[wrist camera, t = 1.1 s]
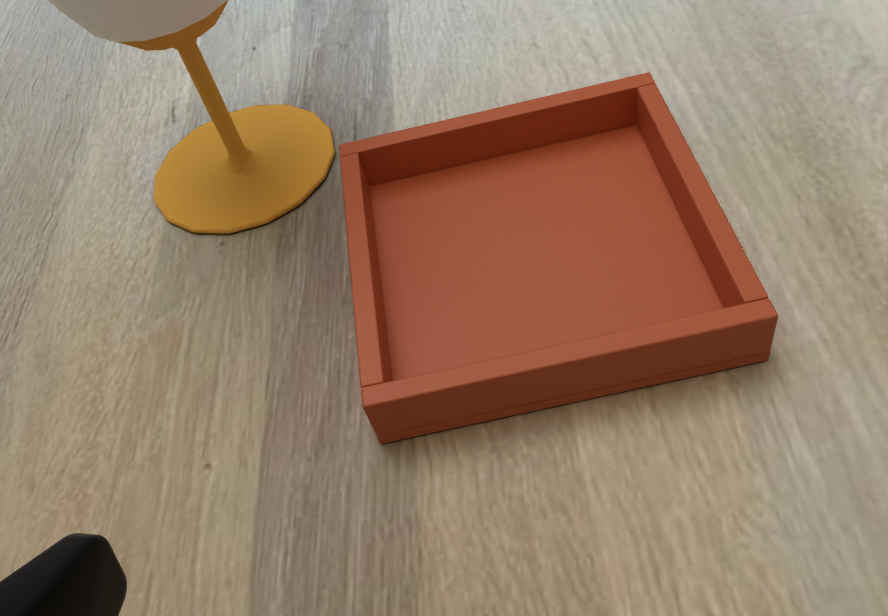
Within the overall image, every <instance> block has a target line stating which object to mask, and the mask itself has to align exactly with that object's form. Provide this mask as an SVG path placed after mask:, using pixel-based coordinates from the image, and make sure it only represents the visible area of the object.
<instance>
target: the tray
mask: <svg viewBox="0 0 888 616" xmlns="http://www.w3.org/2000/svg"><path fill="white" fill-rule="evenodd" d="M339 150H340V160H341V171H342V183H343V194H344V205H345V216H346V228H347V239H348V250H349V261H350V273H351V284H352V295H353V307H354V318H355V329H356V340H357V352H358V363H359V374H360V385H361V388H362V389H361V395H362V406H363V408H364V410H365V413H366V415H367V417H368V419H369V421H370V423H371V425H372V427H373V429H374V431H375V433H376V435H377V438H378V440H379V442H380V444H383V443H387V442H392V441H397V440H401V439H406V438H411V437H415V436H420V435H424V434H429V433H434V432H438V431H443V430H448V429H452V428H457V427H461V426H466V425H471V424H475V423H480V422H485V421H489V420H494V419H499V418H503V417H508V416H512V415H517V414H522V413H526V412H531V411H536V410H540V409H545V408H549V407H554V406H559V405H563V404H568V403H573V402H577V401H582V400H586V399H591V398H596V397H600V396H605V395H610V394H614V393H619V392H623V391H628V390H633V389H637V388H642V387H647V386H651V385H656V384H660V383H665V382H670V381H674V380H679V379H684V378H688V377H693V376H697V375H702V374H707V373H711V372H716V371H721V370H725V369H730V368H734V367H739V366H744V365H748V364H753V363H758V362H762V361H767V360H768V359H769V355H770V349H771V345H772V340H773V336H774V332H775V327H776V323H777V319H778V315H777V313H776V311H775V309H774V307H773V305H772V303H771V301H770V300H769V299H768V295H767V293H766V292H765V290H764V288H763V286H762V284H761V282H760V280H759V278H758V276H757V275H756V273H755V271H754V269H753V267H752V265H751V263H750V261H749V260H748V258H747V256H746V254H745V252H744V250H743V248H742V246H741V244H740V243H739V241H738V239H737V237H736V235H735V233H734V231H733V229H732V227H731V226H730V224H729V222H728V220H727V218H726V216H725V214H724V212H723V210H722V209H721V207H720V205H719V203H718V201H717V199H716V197H715V195H714V193H713V192H712V190H711V188H710V186H709V184H708V182H707V180H706V178H705V177H704V175H703V173H702V171H701V169H700V167H699V165H698V163H697V161H696V160H695V158H694V156H693V154H692V152H691V150H690V148H689V146H688V144H687V143H686V141H685V139H684V137H683V135H682V133H681V131H680V129H679V127H678V126H677V124H676V122H675V120H674V118H673V116H672V114H671V112H670V111H669V109H668V107H667V105H666V103H665V101H664V99H663V97H662V95H661V94H660V92H659V90H658V88H657V86H656V84H655V82H654V80H653V78H652V76H651V74H650V73H649V72H648V73H644V74H640V75H636V76H631V77H627V78H623V79H619V80H614V81H610V82H606V83H601V84H597V85H593V86H589V87H584V88H580V89H576V90H572V91H567V92H563V93H559V94H554V95H550V96H546V97H542V98H537V99H533V100H529V101H524V102H520V103H516V104H512V105H507V106H503V107H499V108H495V109H490V110H486V111H482V112H477V113H473V114H469V115H465V116H460V117H456V118H452V119H448V120H443V121H439V122H435V123H430V124H426V125H422V126H418V127H413V128H409V129H405V130H400V131H396V132H392V133H388V134H383V135H379V136H375V137H371V138H366V139H362V140H358V141H353V142H349V143H345V144H341V145H339Z"/></svg>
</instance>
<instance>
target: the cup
mask: <svg viewBox="0 0 888 616" xmlns="http://www.w3.org/2000/svg"><path fill="white" fill-rule="evenodd" d="M50 2H51V3H52V4H53V5H54V6H55V7H56V8H57V9H58V10H59V11H61V12H62V13H64V14H65V15H67V16H68V17H69V18H71V19H72V20H74V21H75V22H76V23H78V24H79V25H81V26H82V27H83V28H85V29H86V30H88V31H89V32H90V33H92V34H93V35H95V36H97V37H100V38H103V39H107V40H110V41H113V42H119V43H122V44H126V45H129V46H133V47H137V48H140V49H144V50H165V49H169V48H175V49H177V50H178V52H179V54H180V56H181V58H182V60H183V62H184V64H185V66H186V68H187V70H188V72H189V74H190V76H191V78H192V80H193V82H194V84H195V86H196V88H197V90H198V92H199V94H200V96H201V98H202V101H203V103H204V105H205V107H206V109H207V111H208V113H209V115H210V117H211V119H212V120H211V121H210V122H208V123H206V124H204V125H202V126H200V127H198V128H196V129H194V130H193V131H192V132H191V133H190V134H188V135H187V136H186V137H185V138H184V139H183V140H182V141H181V142H179V143H178V144H177V145H176V146H175V147H174V148H173V149H172V150H170V151H169V153H168V155H167V157H166V158H165V160H164V162H163V163H162V165H161V167H160V169H159V170H158V172H157V174H156V176H155V185H154V201H155V203H156V204H157V206H158V207H159V209H160V211H161V212H162V214H163V215H164V217H165V218H166V220H167V221H168V222H170V223H172V224H175V225H177V226H179V227H181V228H184V229H186V230H188V231H191V232H193V233H222V234H230V233H234V232H237V231H241V230H245V229H249V228H252V227H256V226H260V225H263V224H267V223H269V222H271V221H272V220H274V219H276V218H278V217H279V216H281V215H283V214H285V213H286V212H288V211H290V210H292V209H293V208H295V207H297V206H298V205H300V204H301V203H302V202H303V201H304V200H305V199H306V198H307V197H308V196H309V195H310V194H311V193H312V192H313V191H314V190H315V189H316V188H317V187H318V186H319V185H320V184H321V183H322V181H323V180H324V179H325V177H326V175H327V172H328V170H329V167H330V165H331V162H332V160H333V157H334V155H335V149H334V144H333V138H332V132H331V129H330V128H329V127H328V126H327V125H326V124H325V123H324V122H323V121H322V120H321V119H320V118H319V117H318V116H317V115H316V114H315V113H313V112H310V111H307V110H303V109H300V108H297V107H293V106H290V105H255V106H252V107H248V108H244V109H241V110H237V111H233V112H230V113H229V112H228V110H227V108H226V105H225V103H224V101H223V99H222V97H221V95H220V93H219V91H218V88H217V86H216V84H215V82H214V80H213V78H212V76H211V73H210V71H209V69H208V67H207V65H206V63H205V61H204V58H203V56H202V54H201V52H200V50H199V48H198V46H197V43H196V40H197V38H198V37H200V36H202V35H203V34H204V33H205V32H206V31H208V30H209V29H210V28H211V27H213V26H214V25H215V23H216V22H217V20H218V19H219V17H220V15H221V14H222V12H223V10H224V8H225V6H226V4H227V2H228V0H50Z"/></svg>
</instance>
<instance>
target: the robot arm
mask: <svg viewBox="0 0 888 616" xmlns="http://www.w3.org/2000/svg"><path fill="white" fill-rule="evenodd" d="M126 590H127V580H126V576H125V574H124V572H123V570H122V568H121V566H120V564H119V562H118V560H117V558H116V556H115V554H114V552H113V550H112V548H111V546H110V544H109V542H108V541H107V539H106V538H104V537H103V536H101V535H93V534H83V533H74V534H70V535H68V536H66V537H64V538H63V539H61V540H60V541H58V542H57V543H55V544H54V545H53V546H51V547H50V548H48V549H47V550H45V551H44V552H42V553H41V554H40V555H38V556H37V557H35V558H34V559H32V560H31V561H29V562H28V563H27V564H25V565H24V566H22V567H21V568H19V569H18V570H17V571H15V572H14V573H12V574H11V575H9V576H8V577H6V578H5V579H4V580H2V581H1V582H0V616H118V615H119V612H120V610H121V607H122V604H123V602H124V599H125V595H126Z"/></svg>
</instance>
